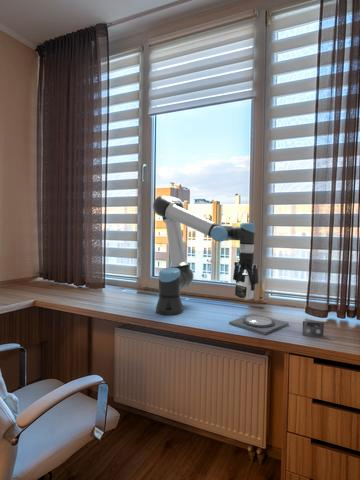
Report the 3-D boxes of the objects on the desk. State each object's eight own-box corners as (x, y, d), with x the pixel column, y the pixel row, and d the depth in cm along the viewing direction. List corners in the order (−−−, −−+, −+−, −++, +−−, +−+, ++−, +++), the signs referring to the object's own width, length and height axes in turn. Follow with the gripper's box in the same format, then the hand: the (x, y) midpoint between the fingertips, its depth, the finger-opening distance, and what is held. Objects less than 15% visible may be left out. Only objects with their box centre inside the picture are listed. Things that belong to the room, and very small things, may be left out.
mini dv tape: (322, 335, 135) (323, 322, 135) (323, 337, 133) (323, 323, 133) (302, 334, 137) (302, 320, 137) (302, 335, 136) (303, 321, 135)
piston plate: (229, 324, 150) (229, 319, 150) (253, 315, 164) (253, 311, 163) (265, 335, 135) (265, 330, 135) (288, 325, 149) (288, 320, 149)
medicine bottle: (234, 296, 166) (236, 274, 165) (242, 294, 171) (244, 273, 170) (245, 300, 161) (247, 277, 160) (253, 298, 166) (255, 275, 164)
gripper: (227, 250, 169) (225, 292, 170) (258, 254, 154) (256, 300, 156) (235, 250, 174) (234, 290, 175) (267, 253, 159) (265, 297, 161)
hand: (244, 294), depth 166 cm, fingers closed on medicine bottle, 7 cm apart
